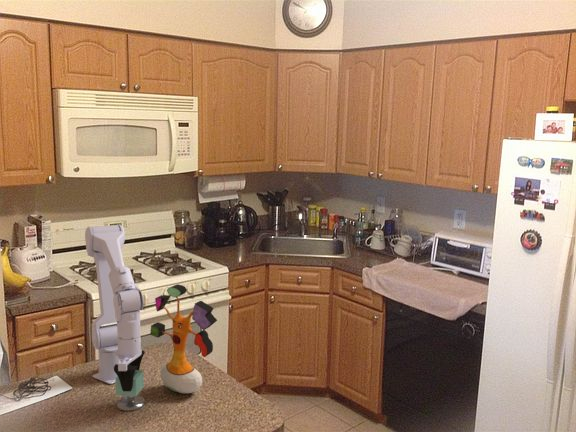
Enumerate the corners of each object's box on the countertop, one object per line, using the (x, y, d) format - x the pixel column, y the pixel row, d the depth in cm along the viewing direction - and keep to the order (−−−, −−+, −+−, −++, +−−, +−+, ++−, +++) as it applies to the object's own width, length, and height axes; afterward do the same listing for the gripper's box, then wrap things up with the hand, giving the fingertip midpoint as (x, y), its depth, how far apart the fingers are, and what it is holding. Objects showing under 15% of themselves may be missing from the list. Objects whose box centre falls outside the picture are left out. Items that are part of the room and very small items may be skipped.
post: (131, 395, 150) (131, 379, 149) (150, 402, 146) (149, 387, 145) (111, 406, 144) (110, 390, 143) (129, 414, 140) (129, 397, 139)
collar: (124, 384, 147) (123, 369, 146) (143, 386, 146) (143, 370, 146) (115, 394, 142) (115, 378, 141) (136, 396, 141) (135, 379, 140)
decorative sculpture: (222, 393, 152) (222, 288, 147) (206, 406, 145) (206, 297, 139) (163, 377, 160) (161, 277, 155) (145, 389, 153) (143, 285, 148)
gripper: (120, 324, 148) (122, 371, 151) (104, 346, 134) (106, 398, 136) (147, 325, 149) (148, 372, 151) (134, 347, 134) (135, 398, 137)
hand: (130, 384), depth 144 cm, fingers closed on collar, 6 cm apart
